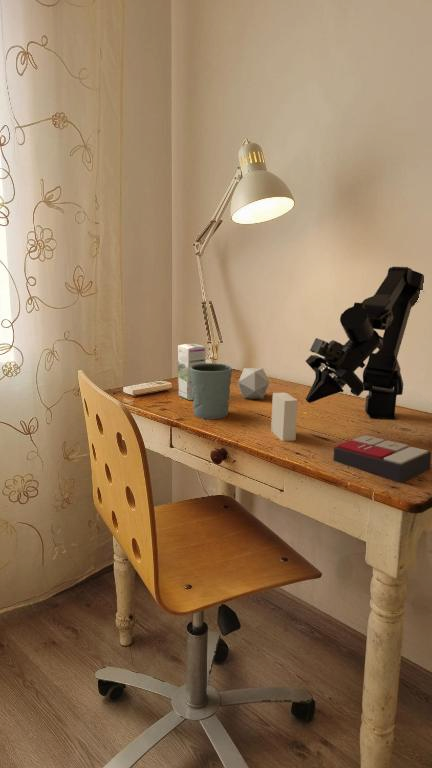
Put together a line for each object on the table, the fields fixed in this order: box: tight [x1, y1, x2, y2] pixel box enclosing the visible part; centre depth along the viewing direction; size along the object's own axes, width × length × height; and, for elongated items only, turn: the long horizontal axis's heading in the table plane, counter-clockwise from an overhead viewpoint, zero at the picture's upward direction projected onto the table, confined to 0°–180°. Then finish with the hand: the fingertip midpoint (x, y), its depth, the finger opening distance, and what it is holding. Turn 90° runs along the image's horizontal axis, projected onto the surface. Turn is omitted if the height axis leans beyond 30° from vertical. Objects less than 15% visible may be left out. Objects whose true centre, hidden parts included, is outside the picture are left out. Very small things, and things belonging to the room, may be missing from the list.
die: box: [237, 367, 271, 400], centre depth 160 cm, size 8×9×10 cm
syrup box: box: [177, 343, 206, 401], centre depth 158 cm, size 6×6×14 cm
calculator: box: [333, 434, 432, 484], centre depth 113 cm, size 11×4×15 cm
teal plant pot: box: [190, 362, 233, 420], centre depth 143 cm, size 10×10×12 cm
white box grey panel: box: [270, 392, 299, 442], centre depth 128 cm, size 3×7×9 cm, turn 16°
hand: (307, 401), depth 129 cm, fingers closed
